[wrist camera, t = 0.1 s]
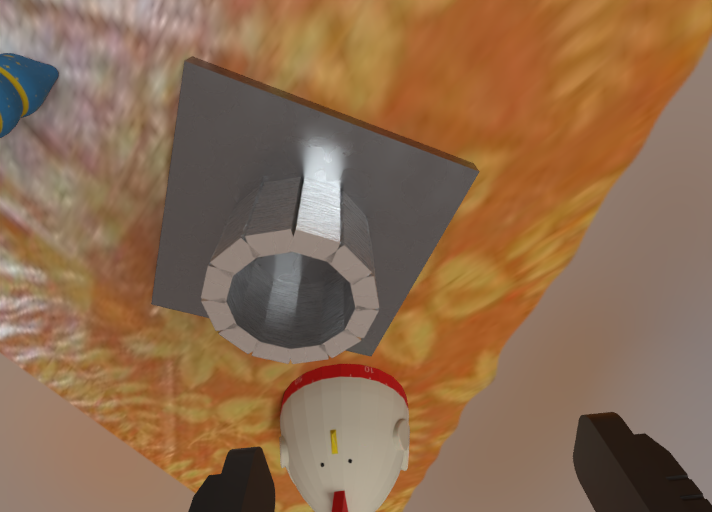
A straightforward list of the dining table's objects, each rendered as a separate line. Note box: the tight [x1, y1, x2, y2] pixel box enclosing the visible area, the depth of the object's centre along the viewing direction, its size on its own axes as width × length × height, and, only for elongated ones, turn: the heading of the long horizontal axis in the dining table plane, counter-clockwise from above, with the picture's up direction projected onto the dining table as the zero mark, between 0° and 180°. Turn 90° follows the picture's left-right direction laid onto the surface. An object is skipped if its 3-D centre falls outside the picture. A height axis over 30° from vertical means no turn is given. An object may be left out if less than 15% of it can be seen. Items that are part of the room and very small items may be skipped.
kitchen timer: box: [280, 364, 410, 512], centre depth 40 cm, size 14×14×15 cm
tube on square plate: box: [151, 57, 479, 364], centre depth 29 cm, size 20×20×8 cm
